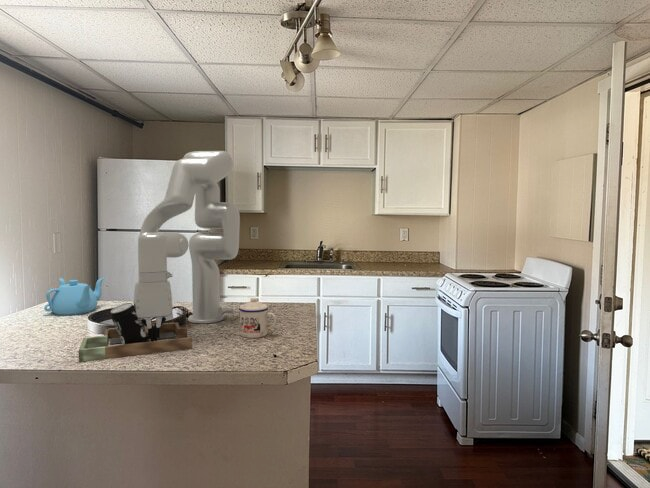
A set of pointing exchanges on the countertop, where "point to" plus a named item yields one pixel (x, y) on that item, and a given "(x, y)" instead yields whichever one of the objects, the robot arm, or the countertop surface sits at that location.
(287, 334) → the countertop surface
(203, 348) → the countertop surface
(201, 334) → the countertop surface
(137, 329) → the beverage can
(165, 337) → the wooden tray
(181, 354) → the countertop surface
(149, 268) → the robot arm
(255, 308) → the teacup with lid
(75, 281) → the teapot
